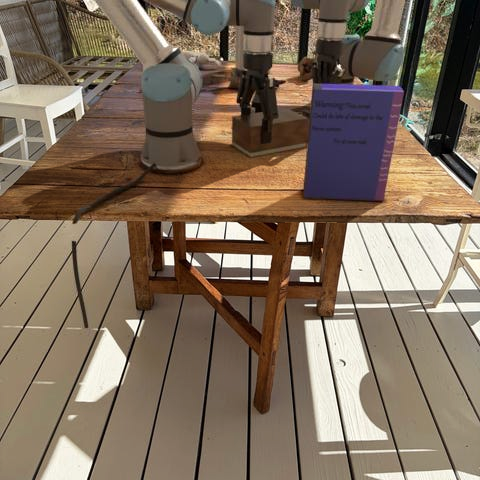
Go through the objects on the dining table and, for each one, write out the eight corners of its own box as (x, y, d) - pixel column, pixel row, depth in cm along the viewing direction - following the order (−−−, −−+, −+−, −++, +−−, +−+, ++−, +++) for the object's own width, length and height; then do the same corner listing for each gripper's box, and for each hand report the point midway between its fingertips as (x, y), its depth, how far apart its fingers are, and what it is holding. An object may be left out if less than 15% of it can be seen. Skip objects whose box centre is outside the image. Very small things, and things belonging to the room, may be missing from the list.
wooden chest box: (285, 135, 143) (287, 108, 139) (306, 146, 135) (308, 118, 131) (231, 144, 135) (232, 116, 131) (250, 157, 127) (251, 127, 123)
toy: (176, 74, 211) (175, 58, 207) (152, 64, 228) (150, 49, 225) (222, 68, 223) (222, 53, 219) (196, 59, 240) (196, 44, 237)
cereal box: (379, 191, 109) (398, 84, 97) (383, 201, 105) (404, 90, 93) (303, 188, 110) (312, 82, 98) (304, 197, 106) (314, 88, 94)
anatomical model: (307, 83, 216) (306, 83, 202) (293, 69, 215) (291, 69, 201) (327, 61, 212) (327, 60, 198) (313, 47, 211) (312, 45, 197)
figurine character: (269, 131, 150) (273, 112, 162) (270, 107, 146) (274, 90, 157) (248, 129, 151) (253, 111, 163) (248, 106, 146) (254, 89, 158)
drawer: (318, 127, 147) (321, 107, 144) (338, 136, 140) (341, 115, 137) (255, 138, 138) (255, 116, 134) (272, 148, 131) (273, 126, 127)
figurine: (210, 87, 179) (288, 95, 182) (212, 65, 176) (291, 73, 180) (208, 84, 201) (278, 91, 205) (210, 64, 198) (280, 71, 202)
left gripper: (296, 58, 113) (290, 147, 125) (248, 44, 130) (246, 123, 142) (269, 61, 110) (265, 152, 121) (223, 46, 127) (224, 126, 139)
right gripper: (357, 41, 126) (345, 128, 138) (327, 34, 135) (318, 117, 148) (334, 43, 123) (324, 132, 135) (305, 36, 132) (298, 120, 144)
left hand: (255, 136), depth 132 cm, fingers closed on wooden chest box, 11 cm apart
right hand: (321, 124), depth 141 cm, fingers closed
